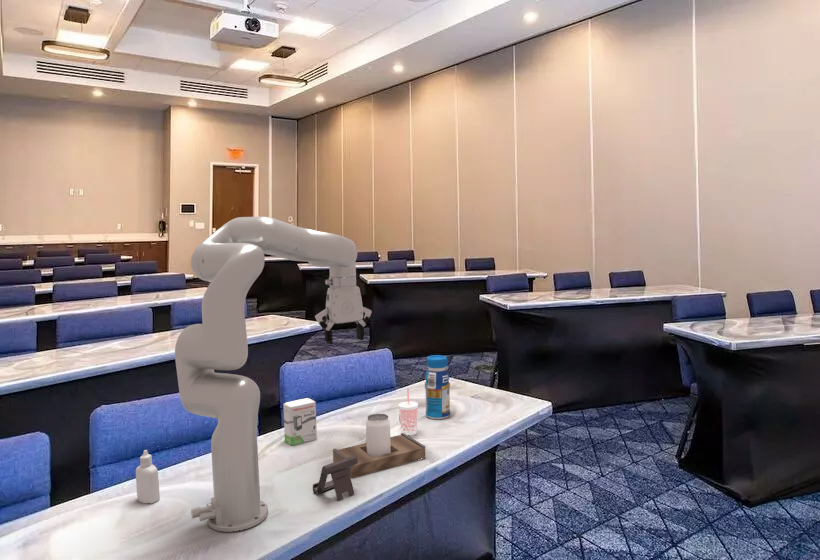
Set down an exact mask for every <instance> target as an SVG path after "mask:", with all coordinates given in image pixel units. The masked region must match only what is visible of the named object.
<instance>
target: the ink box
mask: <svg viewBox="0 0 820 560" xmlns="http://www.w3.org/2000/svg"><path fill="white" fill-rule="evenodd" d="M316 403H317V401H315V400H313V399H311V398H309V397H306V398H299V399H296V400H291V401H288V402H287V401H286V402H285V403H283V426H284V427H283V428H284V442H286V443H287V444H288V445H290V446H296V445H300V444H303V443H306V442H311V441H315V440H317V439H318V434H317V432H318V431H317V404H316Z"/></svg>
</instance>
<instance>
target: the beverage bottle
mask: <svg viewBox="0 0 820 560" xmlns="http://www.w3.org/2000/svg"><path fill="white" fill-rule="evenodd" d="M426 366H427V368H428V369H427V370H426V373H425V375H424V380H425V382H424V389H425V416H426V417H427V418H428V419H431V420H444V419H447V418H449V417H451V416H450V415H451V409H450V407H451V406H450V405H451V404H450V403H451V400H450V392H451V391H450V388H451V383H450V381H449V380H450V378H451V377H450V374H449V372H448V370H447V369H446V368H447V367H448V358H447V356H446V355H441V354H434V355H428V356H427V357H426Z"/></svg>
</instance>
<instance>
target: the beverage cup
mask: <svg viewBox="0 0 820 560" xmlns="http://www.w3.org/2000/svg"><path fill="white" fill-rule="evenodd" d="M409 389H410V388H409V387H408V388H406V393H407V394H406V395H407V396H406V397H407V398H406V399H407V401H402V402H399V403H398V404H397V405H398V409H399V419H400V431H401V433H404V434H406V435H410V436H414V434H415V435H416V434H417V433H418V431H417V428H418V408H419V403H418V402H417V401H410V390H409ZM401 433H400V434H401Z"/></svg>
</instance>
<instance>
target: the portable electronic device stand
mask: <svg viewBox="0 0 820 560" xmlns="http://www.w3.org/2000/svg"><path fill="white" fill-rule="evenodd" d="M357 463H358V459H357V457H356V456H355V455H354V456H351V457H348V458H345V459H343V460H340V461H337V462H332V463H329V464H325V465H323V466H322V468H321V471H320V476H319V479H318V482H315V483H313V484H312V492H313V494H314V495H318V494H321V493H323V492H326V491H329V490H331V489H333V488H334V493H335V495H336V500H337V501H338V502H340V501H343V500H344V496H343V494H345V493H348V495H349V497H352V496H354V495H355V490H354V487H353V482H352V478H351V477H350V474H349V472H350V468H351V466H354V465H356V464H357ZM328 475H330V476H331V480H330V481H329V480H328V481H327V479H328Z"/></svg>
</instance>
